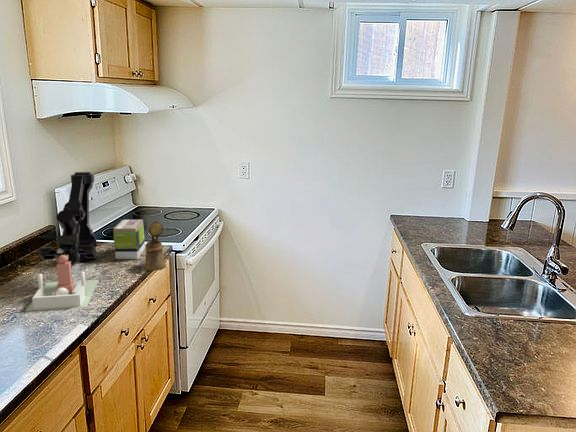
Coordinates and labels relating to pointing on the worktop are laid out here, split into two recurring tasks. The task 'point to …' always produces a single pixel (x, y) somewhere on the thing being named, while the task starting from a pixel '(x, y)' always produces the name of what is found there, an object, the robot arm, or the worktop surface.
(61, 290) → the ball
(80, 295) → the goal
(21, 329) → the worktop surface
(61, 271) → the striker
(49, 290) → the pitch
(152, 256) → the brown pawn figure
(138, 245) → the tea box
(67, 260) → the robot arm
